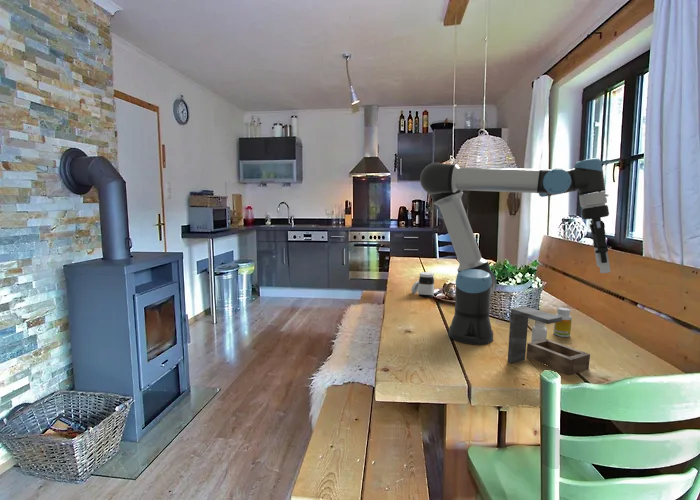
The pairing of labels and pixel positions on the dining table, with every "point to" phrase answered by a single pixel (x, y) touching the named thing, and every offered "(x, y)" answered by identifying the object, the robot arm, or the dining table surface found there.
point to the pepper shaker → (539, 331)
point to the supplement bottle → (563, 323)
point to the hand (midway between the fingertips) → (603, 269)
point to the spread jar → (424, 285)
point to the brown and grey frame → (542, 344)
